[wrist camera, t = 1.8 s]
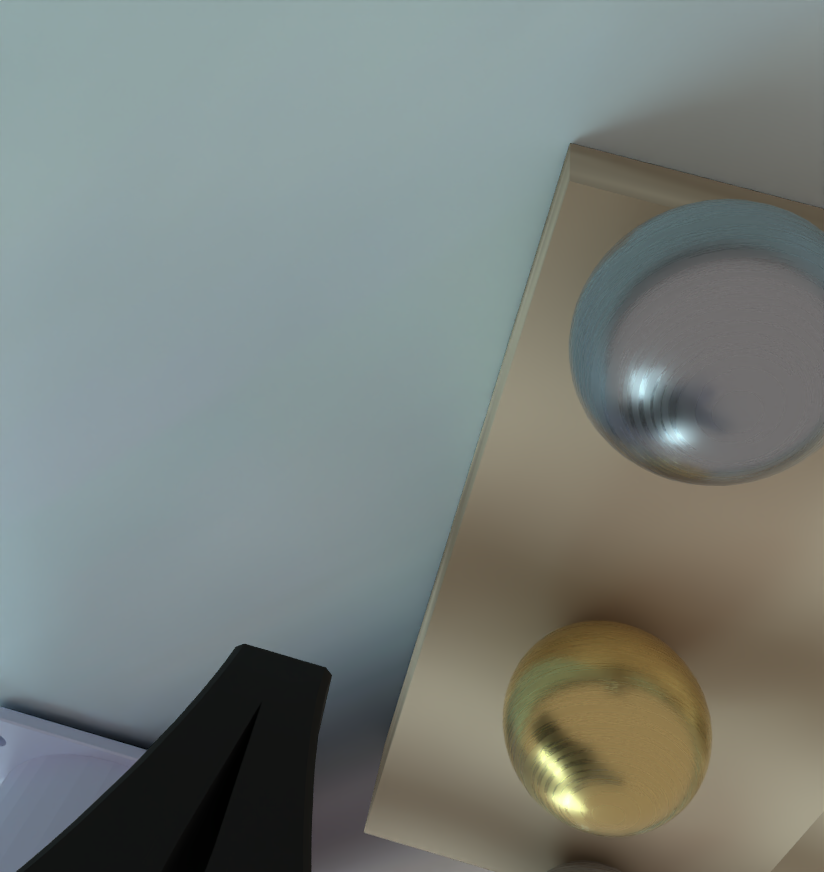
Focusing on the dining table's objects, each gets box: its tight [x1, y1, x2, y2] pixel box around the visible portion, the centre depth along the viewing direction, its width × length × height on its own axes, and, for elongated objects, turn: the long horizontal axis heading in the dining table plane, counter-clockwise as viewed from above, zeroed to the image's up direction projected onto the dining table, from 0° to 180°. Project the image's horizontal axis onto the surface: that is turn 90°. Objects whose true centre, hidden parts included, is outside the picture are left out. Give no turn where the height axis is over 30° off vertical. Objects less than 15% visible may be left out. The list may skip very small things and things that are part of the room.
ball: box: [503, 620, 712, 837], centre depth 12 cm, size 3×3×3 cm
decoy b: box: [569, 199, 824, 486], centre depth 9 cm, size 3×3×3 cm
